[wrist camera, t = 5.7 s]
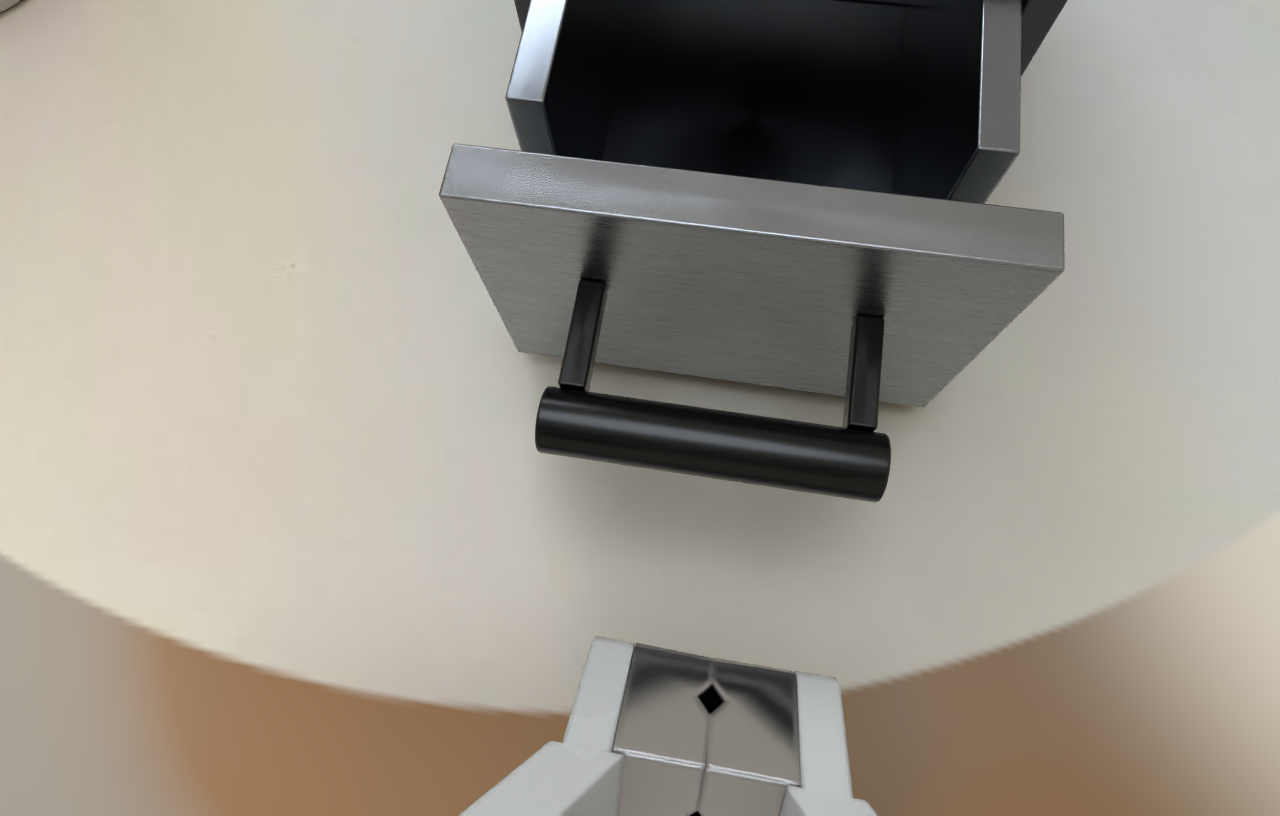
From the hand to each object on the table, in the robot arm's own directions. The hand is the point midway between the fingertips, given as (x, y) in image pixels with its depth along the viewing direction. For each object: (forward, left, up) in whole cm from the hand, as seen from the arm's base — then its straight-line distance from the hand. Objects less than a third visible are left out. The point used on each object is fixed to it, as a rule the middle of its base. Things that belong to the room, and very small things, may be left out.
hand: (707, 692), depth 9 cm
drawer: (+13, 0, -10) cm, 16 cm away
